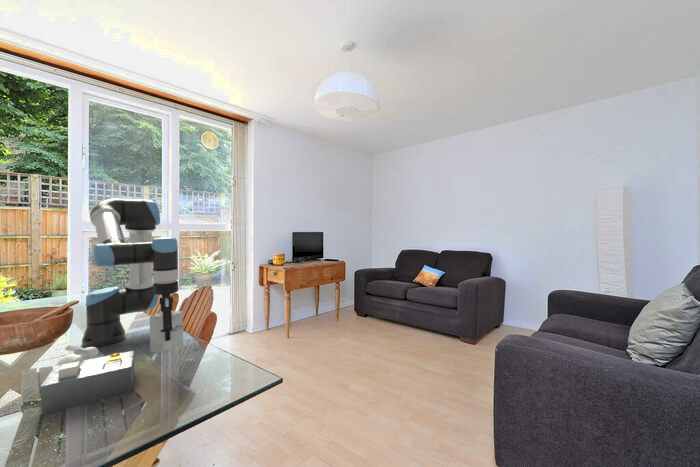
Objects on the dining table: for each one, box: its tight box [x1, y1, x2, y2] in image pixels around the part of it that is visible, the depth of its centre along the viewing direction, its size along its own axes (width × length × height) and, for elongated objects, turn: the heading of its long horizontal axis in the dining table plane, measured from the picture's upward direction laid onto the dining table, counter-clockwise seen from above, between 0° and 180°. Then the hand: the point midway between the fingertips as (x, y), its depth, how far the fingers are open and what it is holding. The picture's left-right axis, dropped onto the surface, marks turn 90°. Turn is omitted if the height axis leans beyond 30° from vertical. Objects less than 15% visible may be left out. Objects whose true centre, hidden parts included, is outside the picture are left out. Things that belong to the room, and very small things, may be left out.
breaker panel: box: [40, 350, 135, 416], centre depth 92 cm, size 14×20×9 cm
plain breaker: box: [58, 361, 80, 379], centre depth 88 cm, size 4×4×5 cm
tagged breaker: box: [104, 361, 121, 369], centre depth 93 cm, size 4×4×5 cm
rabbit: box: [55, 344, 99, 366], centre depth 100 cm, size 12×9×12 cm
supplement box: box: [149, 310, 184, 355], centre depth 104 cm, size 7×7×13 cm
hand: (167, 343), depth 104 cm, fingers closed on supplement box, 10 cm apart
